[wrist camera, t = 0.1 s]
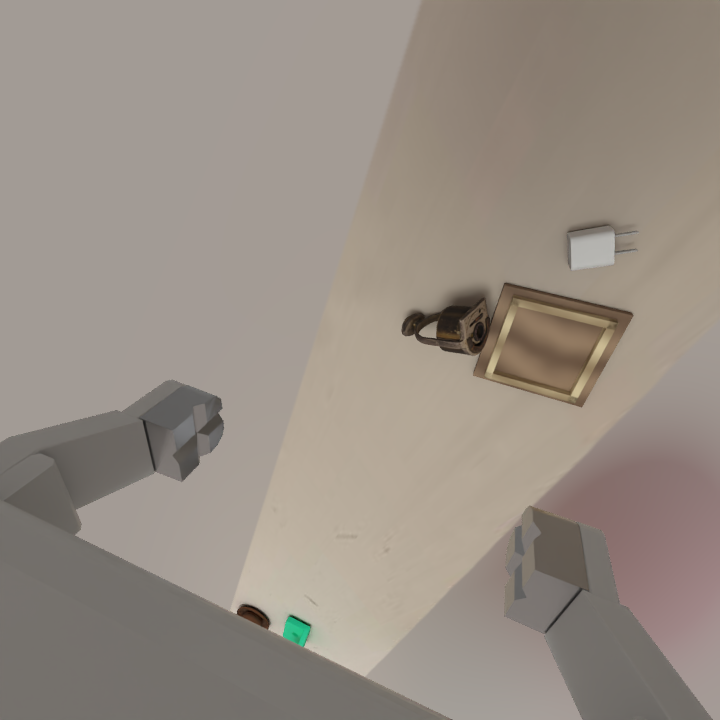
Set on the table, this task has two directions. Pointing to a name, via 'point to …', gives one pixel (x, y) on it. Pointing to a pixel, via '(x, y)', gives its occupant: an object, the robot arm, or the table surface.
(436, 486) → the table surface
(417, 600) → the table surface
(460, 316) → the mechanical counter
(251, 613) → the cup and saucer
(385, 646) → the table surface
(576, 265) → the usb wall charger
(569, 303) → the picture frame
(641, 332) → the table surface
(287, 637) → the camera mount
